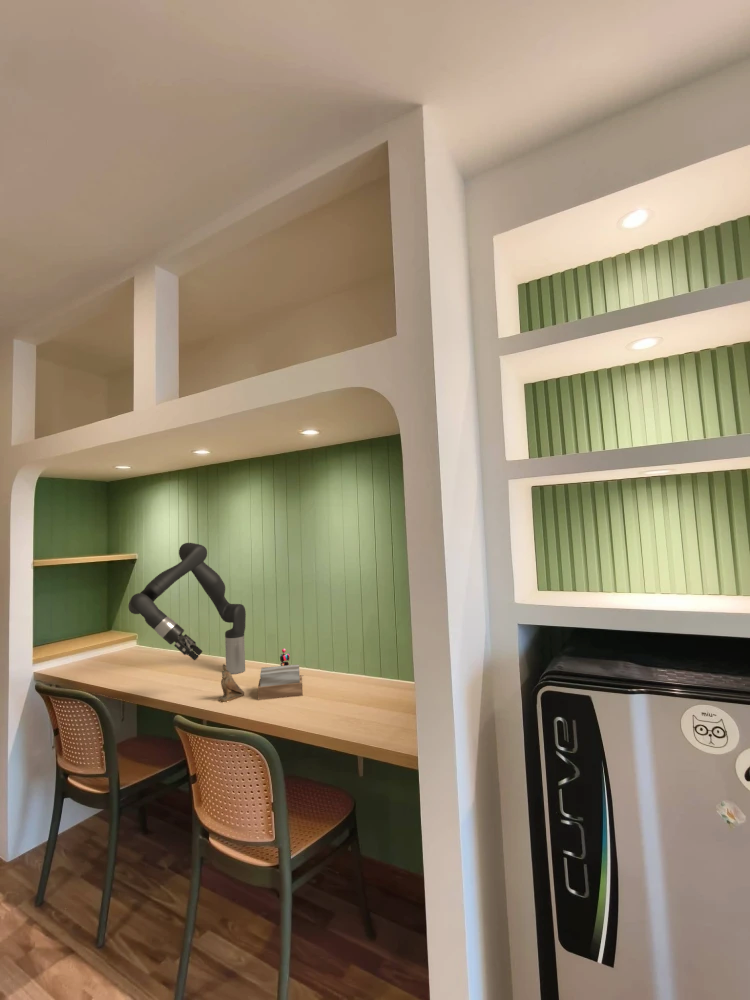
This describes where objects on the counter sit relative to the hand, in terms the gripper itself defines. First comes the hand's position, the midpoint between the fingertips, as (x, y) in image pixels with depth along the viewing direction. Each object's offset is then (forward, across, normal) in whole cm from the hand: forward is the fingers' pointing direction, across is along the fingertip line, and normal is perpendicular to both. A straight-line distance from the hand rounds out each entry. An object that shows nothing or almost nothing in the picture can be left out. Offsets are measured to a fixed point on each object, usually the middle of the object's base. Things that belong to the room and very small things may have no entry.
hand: (198, 655), depth 203 cm
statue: (+38, +17, -12) cm, 44 cm away
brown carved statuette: (+22, 0, +4) cm, 23 cm away
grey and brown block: (+36, 0, -10) cm, 38 cm away
